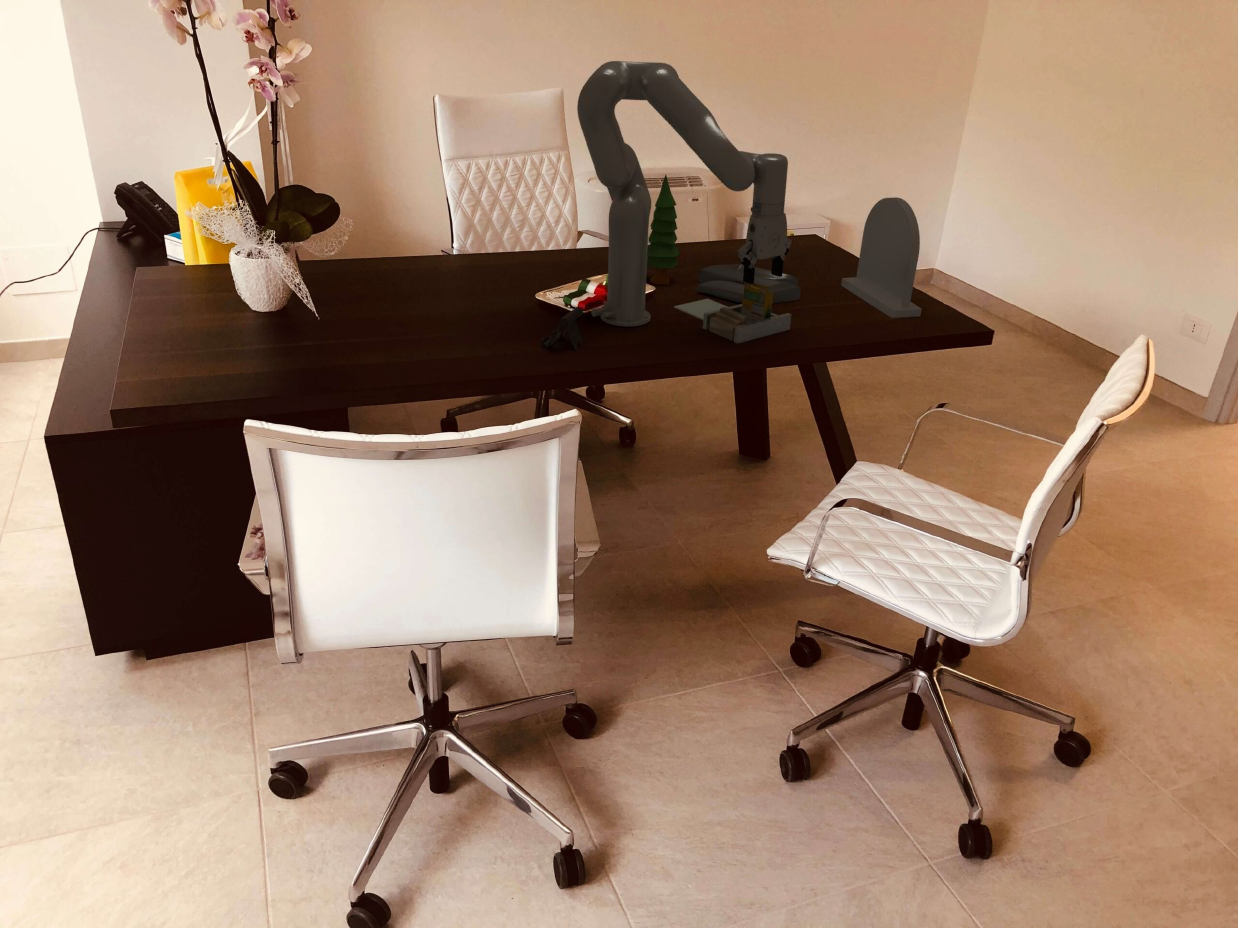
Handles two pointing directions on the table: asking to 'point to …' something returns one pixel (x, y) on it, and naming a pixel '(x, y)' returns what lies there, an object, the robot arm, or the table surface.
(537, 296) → the table surface
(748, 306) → the crayon box
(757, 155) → the robot arm
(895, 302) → the gray tombstone
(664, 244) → the decorative tree
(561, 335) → the portable electronic device stand
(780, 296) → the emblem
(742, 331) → the rack
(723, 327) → the offcut stack
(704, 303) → the mat
